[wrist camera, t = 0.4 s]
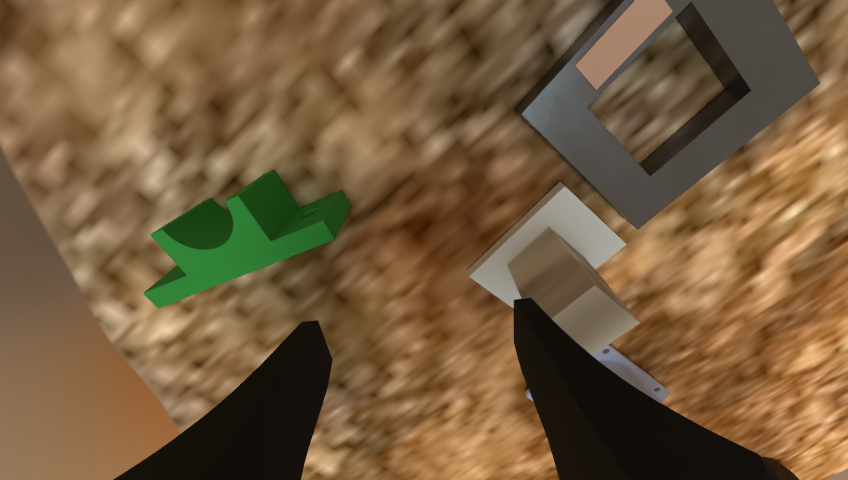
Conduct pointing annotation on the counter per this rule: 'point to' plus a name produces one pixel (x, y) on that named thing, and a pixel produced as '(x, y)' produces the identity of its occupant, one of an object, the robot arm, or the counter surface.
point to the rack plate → (703, 134)
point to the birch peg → (570, 292)
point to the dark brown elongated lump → (780, 469)
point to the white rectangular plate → (550, 211)
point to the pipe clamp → (242, 236)
